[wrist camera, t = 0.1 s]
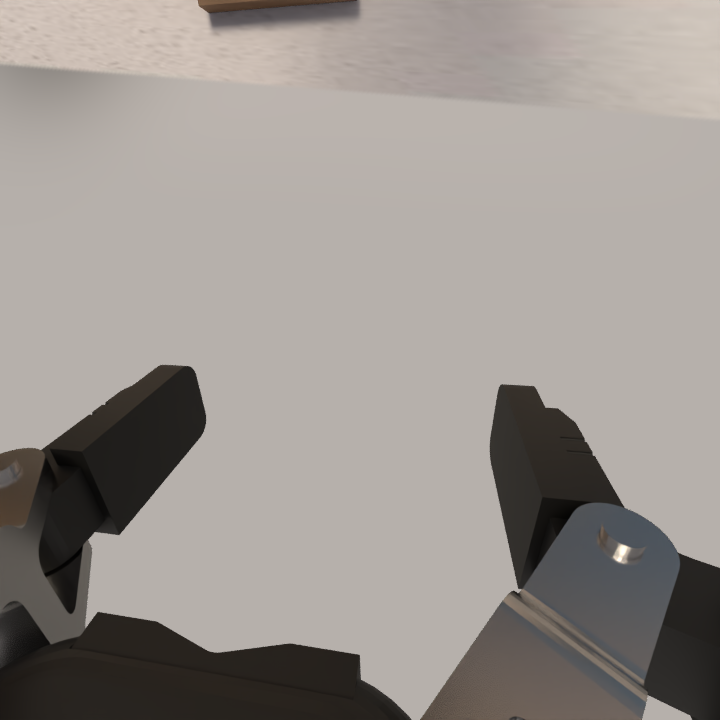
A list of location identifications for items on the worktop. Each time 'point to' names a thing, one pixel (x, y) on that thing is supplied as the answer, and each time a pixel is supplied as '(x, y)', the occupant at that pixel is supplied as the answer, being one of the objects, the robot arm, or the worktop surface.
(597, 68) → the worktop surface
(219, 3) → the walnut board
